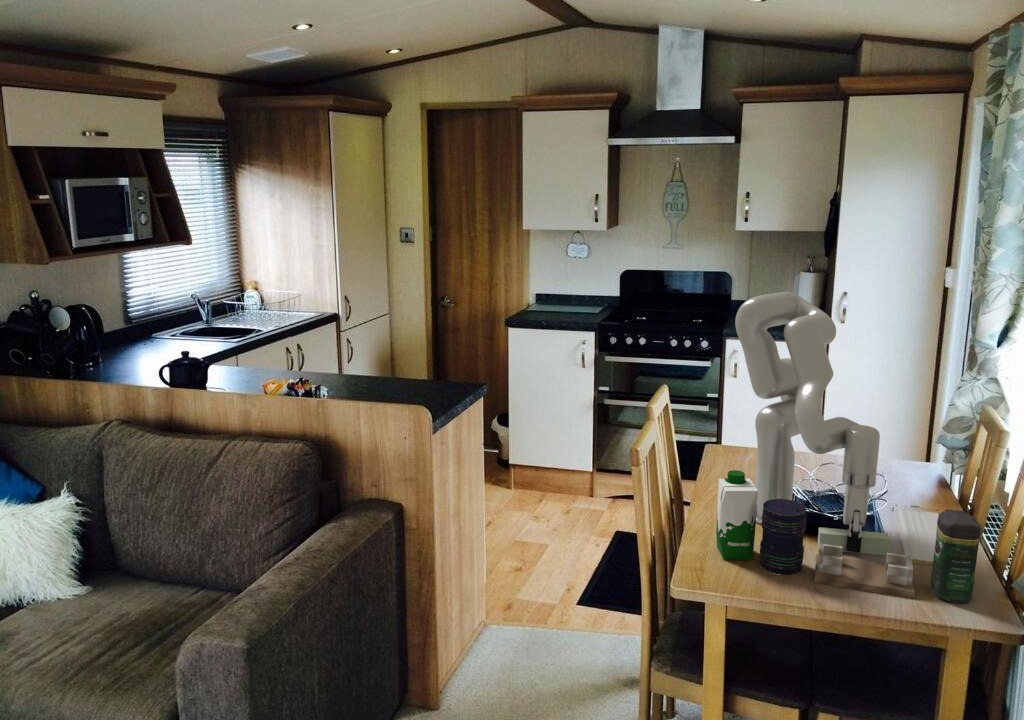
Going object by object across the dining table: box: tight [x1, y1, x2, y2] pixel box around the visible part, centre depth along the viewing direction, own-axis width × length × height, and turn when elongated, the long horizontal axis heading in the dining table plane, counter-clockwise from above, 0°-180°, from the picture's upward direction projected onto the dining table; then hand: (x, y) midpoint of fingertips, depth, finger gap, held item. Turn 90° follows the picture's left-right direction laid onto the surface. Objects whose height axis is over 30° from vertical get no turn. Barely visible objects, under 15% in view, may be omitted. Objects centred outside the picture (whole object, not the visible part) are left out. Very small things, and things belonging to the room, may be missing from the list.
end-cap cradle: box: [814, 543, 915, 599], centre depth 195 cm, size 21×12×6 cm, turn 69°
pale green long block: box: [817, 526, 891, 556], centre depth 210 cm, size 16×4×4 cm, turn 76°
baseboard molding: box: [890, 504, 939, 566], centre depth 216 cm, size 31×3×12 cm
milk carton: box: [715, 469, 758, 561], centre depth 206 cm, size 9×9×20 cm
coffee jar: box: [929, 508, 982, 604], centre depth 186 cm, size 10×8×19 cm
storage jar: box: [759, 499, 807, 576], centre depth 200 cm, size 10×10×15 cm
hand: (853, 545), depth 210 cm, fingers open, 5 cm apart
